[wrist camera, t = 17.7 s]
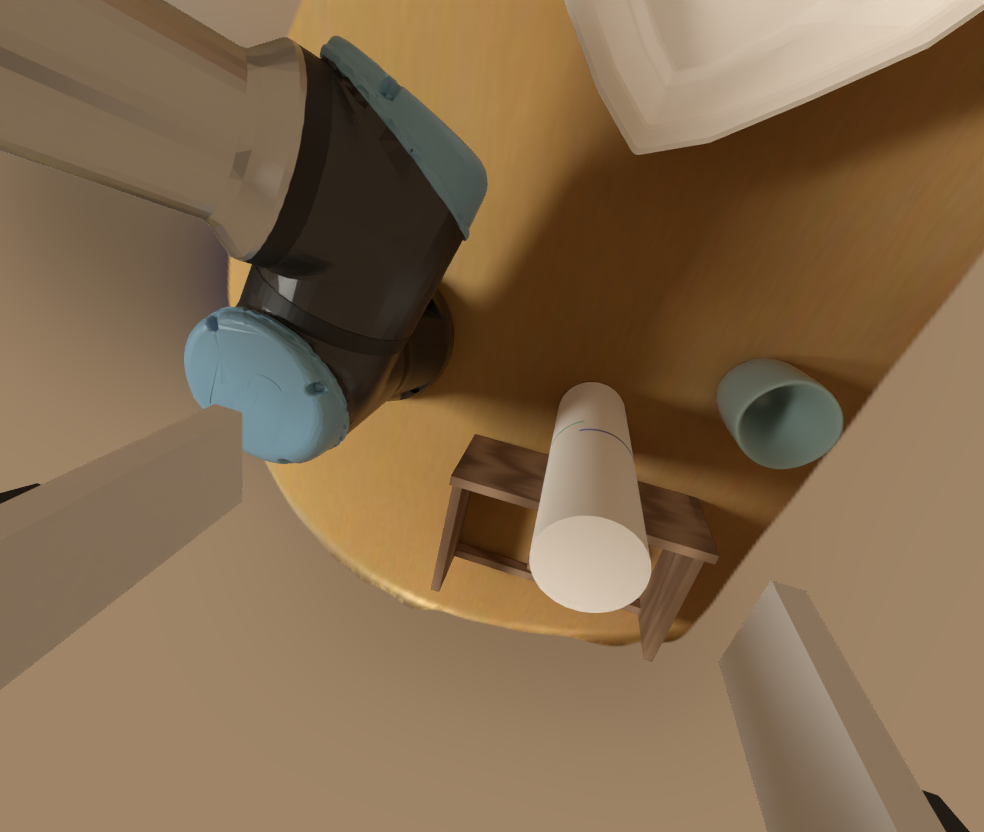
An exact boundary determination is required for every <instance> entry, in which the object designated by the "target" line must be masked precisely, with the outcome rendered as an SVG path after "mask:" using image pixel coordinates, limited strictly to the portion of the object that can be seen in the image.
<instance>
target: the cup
mask: <svg viewBox="0 0 984 832" xmlns="http://www.w3.org/2000/svg"><path fill="white" fill-rule="evenodd" d="M716 401H717V407H718V410H719V414H720V416H721V418H722V420H723V422H724V424H725V426H726V428H727V430H728V431H729V433H730V434H731V436H732V438H733V439H734V441H735V442H736V444H737V445H738V446H739V448H740V449H741V450H742V451H743V452H744V454H745V455H746V456H747V457H749V458H750V459H751V460H752V461H754V462H755V463H757V464H759V465H761V466H763V467H767V468H770V469H780V470H782V469H791V468H796V467H800V466H803V465H805V464H808V463H811V462H813V461H814V460H816V459H818V458H820V457H821V456H823V455H824V454H825V453H827V452H828V451H829V450H830V449H831V448H832V447H833V446H834V445H835V444H836V442H837V441H838V439H839V438H840V436H841V433H842V430H843V420H844V418H843V414H842V409H841V407H840V405H839V403H838V401H837V400H836V398H835V397H834V396H833V394H832V393H831V392H830V391H829V390H828V389H826V388H825V387H824V386H823V385H822V384H820V383H819V382H818V381H816V380H815V379H814V378H812V377H811V376H809V375H808V374H806V373H805V372H803V371H801V370H800V369H798V368H796V367H794V366H792V365H790V364H788V363H786V362H784V361H780V360H777V359H773V358H757V359H751V360H748V361H745V362H743V363H741V364H739V365H737V366H735V367H734V368H732V369H731V370H730V371H729V372H727V373H726V374H725V375H724V377H723V378H722V379H721V381H720V383H719V385H718V388H717V393H716Z"/></svg>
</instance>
